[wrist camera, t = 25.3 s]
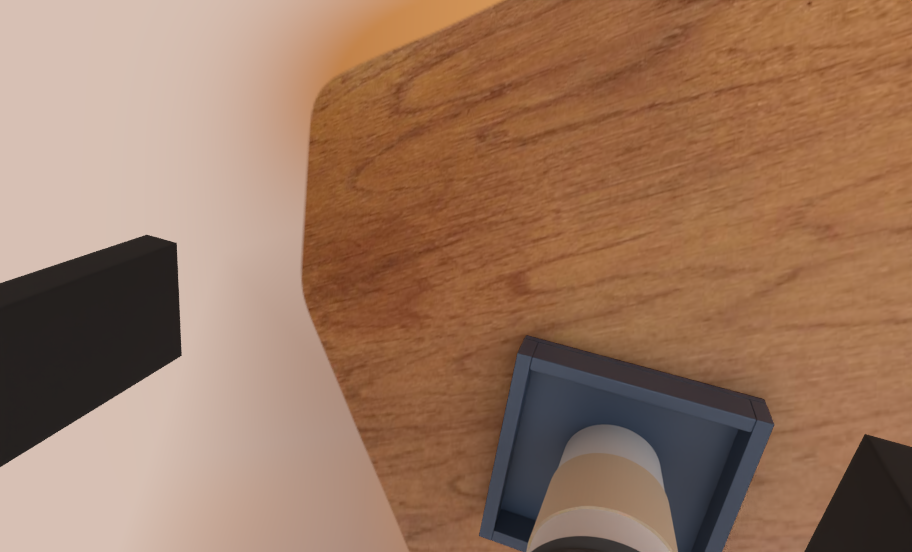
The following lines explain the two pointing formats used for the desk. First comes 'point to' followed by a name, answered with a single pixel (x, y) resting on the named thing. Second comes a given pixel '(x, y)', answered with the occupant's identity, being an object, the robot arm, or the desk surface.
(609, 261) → the desk surface
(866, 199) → the desk surface
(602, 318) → the desk surface
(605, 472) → the coffee cup
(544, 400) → the tray
